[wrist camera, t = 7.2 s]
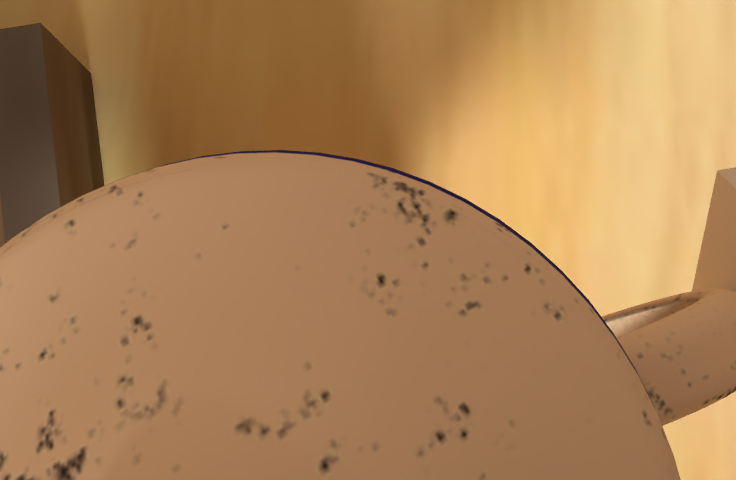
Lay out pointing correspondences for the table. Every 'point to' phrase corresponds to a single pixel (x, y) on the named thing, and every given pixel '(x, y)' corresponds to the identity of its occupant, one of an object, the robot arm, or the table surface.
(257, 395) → the teacup with lid
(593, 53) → the table surface
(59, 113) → the tray
